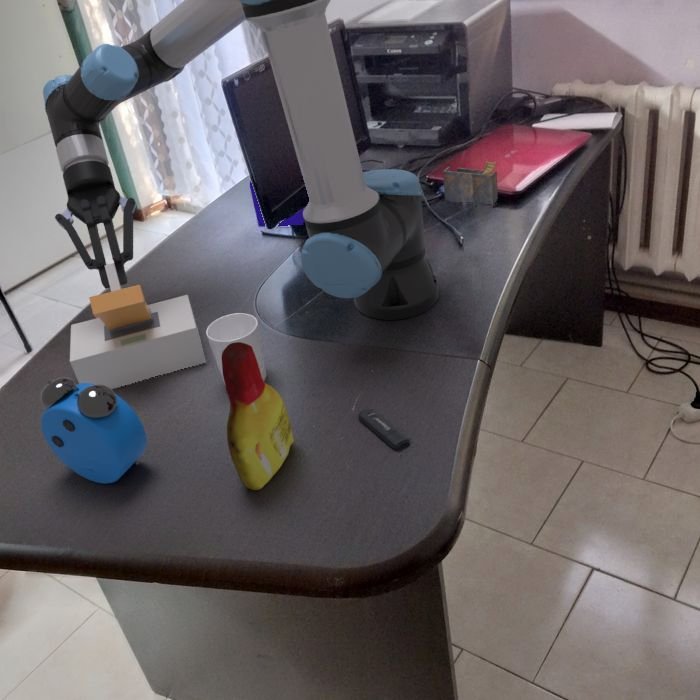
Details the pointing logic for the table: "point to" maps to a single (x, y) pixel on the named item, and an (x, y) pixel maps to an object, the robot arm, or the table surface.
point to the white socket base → (137, 346)
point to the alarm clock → (91, 429)
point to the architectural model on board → (471, 185)
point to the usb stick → (383, 429)
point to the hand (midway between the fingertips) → (120, 304)
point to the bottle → (254, 418)
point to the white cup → (236, 337)
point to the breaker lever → (121, 307)
